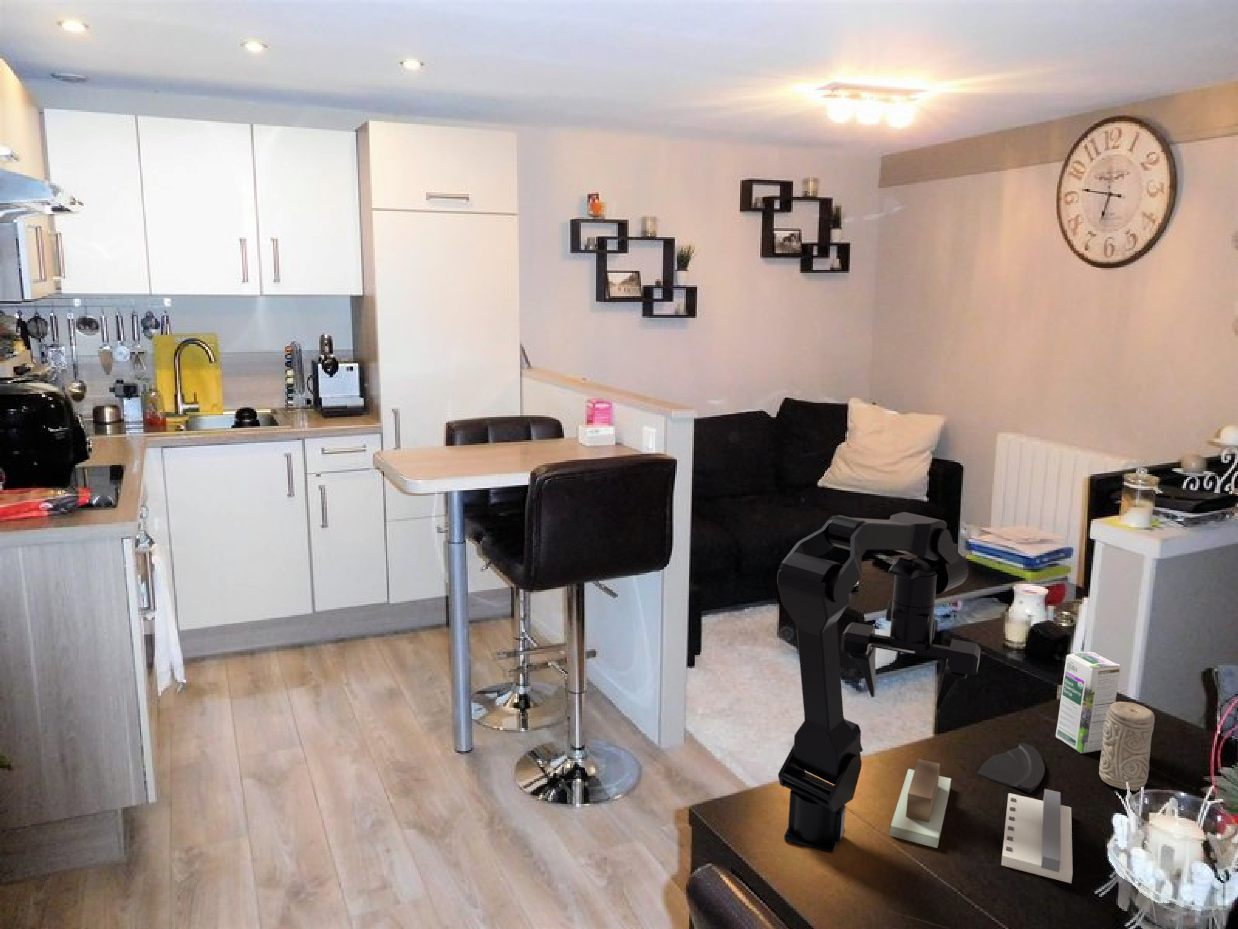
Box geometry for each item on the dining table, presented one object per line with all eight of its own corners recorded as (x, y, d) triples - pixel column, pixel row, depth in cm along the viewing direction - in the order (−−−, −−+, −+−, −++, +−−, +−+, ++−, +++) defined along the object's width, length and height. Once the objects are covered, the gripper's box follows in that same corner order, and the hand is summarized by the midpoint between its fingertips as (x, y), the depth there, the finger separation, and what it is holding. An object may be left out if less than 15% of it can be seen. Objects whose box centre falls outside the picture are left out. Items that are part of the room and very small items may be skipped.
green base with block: (889, 836, 122) (892, 801, 121) (907, 778, 136) (910, 747, 135) (937, 848, 120) (940, 813, 119) (950, 788, 134) (953, 756, 133)
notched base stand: (1000, 868, 116) (1003, 846, 115) (1007, 801, 131) (1009, 781, 131) (1071, 886, 113) (1074, 864, 112) (1069, 815, 128) (1072, 795, 127)
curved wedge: (1062, 764, 142) (1063, 755, 142) (1030, 800, 132) (1031, 789, 132) (1007, 745, 148) (1008, 736, 147) (973, 778, 138) (974, 768, 138)
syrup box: (1054, 737, 150) (1064, 653, 147) (1083, 732, 151) (1093, 649, 148) (1080, 754, 144) (1092, 668, 141) (1110, 749, 146) (1122, 664, 143)
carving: (1150, 781, 137) (1161, 706, 135) (1140, 803, 131) (1151, 725, 129) (1103, 766, 141) (1113, 693, 138) (1091, 787, 135) (1101, 711, 133)
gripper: (987, 594, 135) (977, 693, 138) (858, 575, 142) (851, 669, 145) (981, 619, 125) (971, 725, 128) (843, 597, 132) (836, 698, 136)
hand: (905, 702), depth 134 cm, fingers open, 9 cm apart
